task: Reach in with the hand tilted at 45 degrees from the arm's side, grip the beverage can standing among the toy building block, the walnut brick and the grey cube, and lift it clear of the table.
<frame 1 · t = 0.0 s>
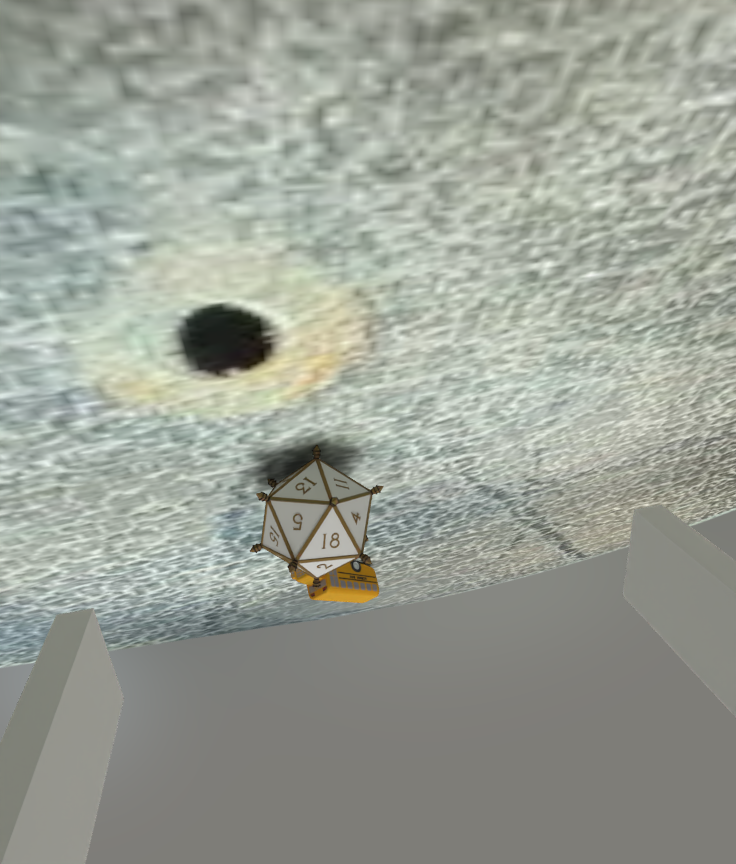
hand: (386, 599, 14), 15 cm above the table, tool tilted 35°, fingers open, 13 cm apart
game die: (307, 464, 40), on the table
toy bus: (332, 560, 61), on the table
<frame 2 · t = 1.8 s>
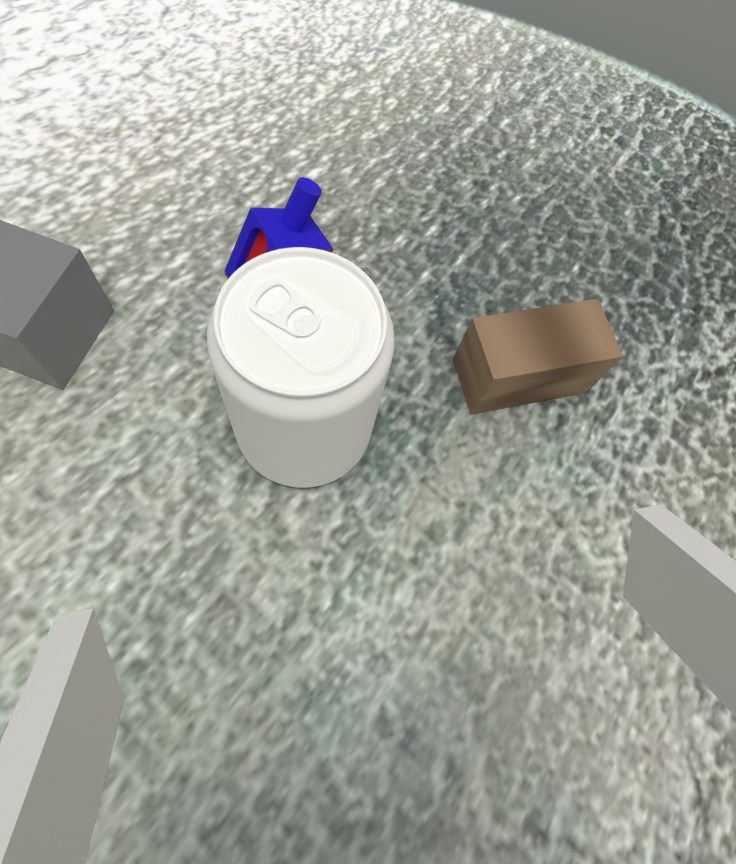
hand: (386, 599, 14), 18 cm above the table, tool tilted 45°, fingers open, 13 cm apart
toy building block: (280, 278, 39), on the table
beverage can: (304, 427, 35), on the table
walnut brick: (518, 377, 37), on the table
grey cube: (45, 333, 35), on the table
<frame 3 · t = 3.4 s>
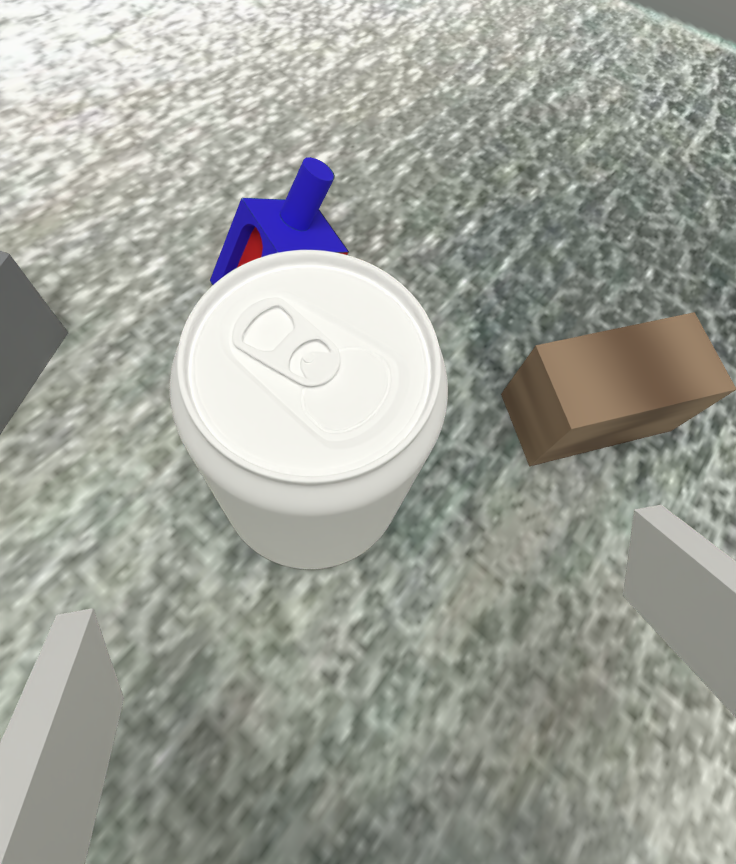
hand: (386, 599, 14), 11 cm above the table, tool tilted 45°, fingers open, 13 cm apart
toy building block: (280, 288, 31), on the table
beverage can: (312, 484, 27), on the table
walnut brick: (585, 413, 29), on the table
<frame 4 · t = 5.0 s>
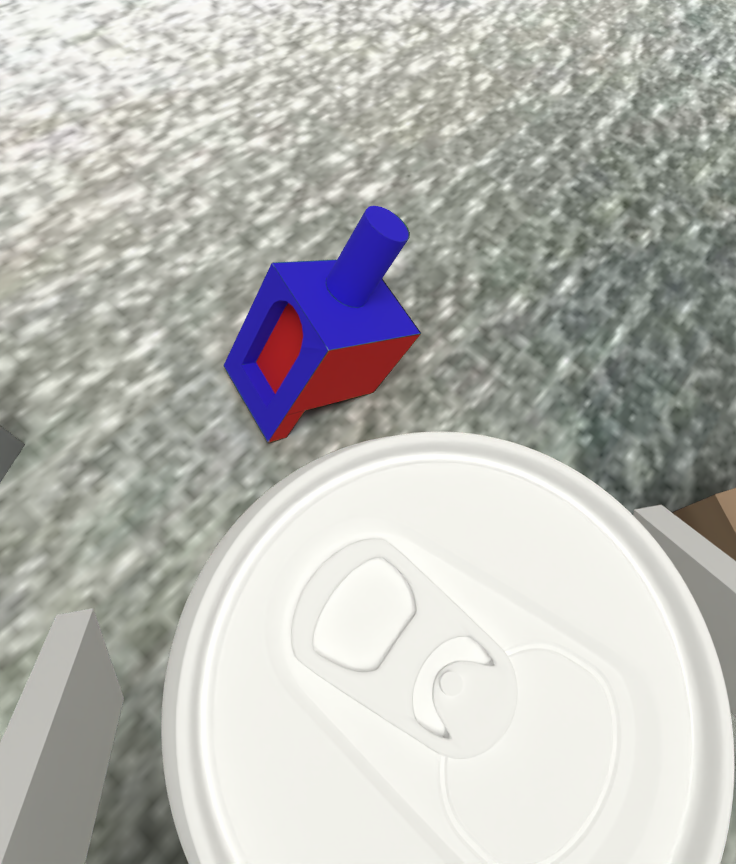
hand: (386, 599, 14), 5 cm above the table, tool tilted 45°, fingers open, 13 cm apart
toy building block: (319, 374, 22), on the table
beverage can: (372, 673, 19), on the table
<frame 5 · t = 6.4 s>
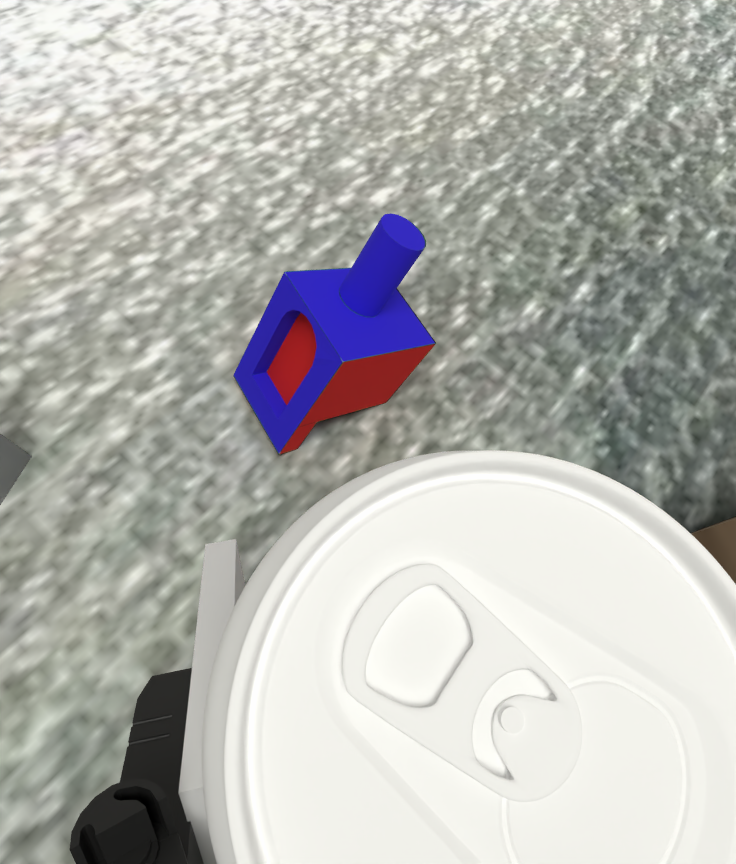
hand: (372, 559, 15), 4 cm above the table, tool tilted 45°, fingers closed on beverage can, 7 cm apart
toy building block: (331, 383, 22), on the table
beverage can: (393, 688, 18), on the table, touching gripper
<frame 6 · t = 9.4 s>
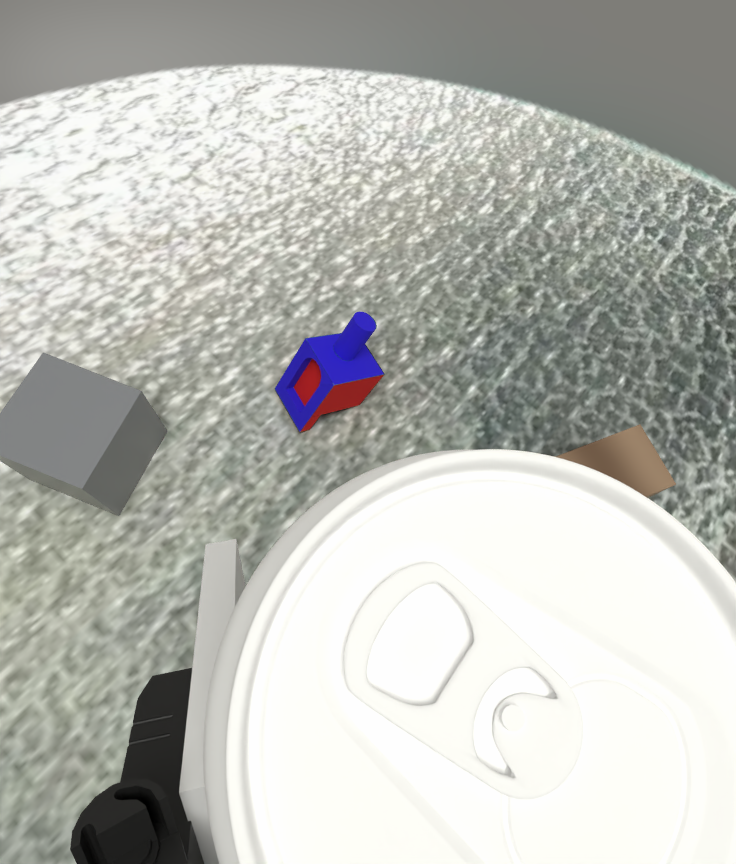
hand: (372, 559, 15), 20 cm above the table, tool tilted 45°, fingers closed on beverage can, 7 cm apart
toy building block: (328, 393, 39), on the table
beverage can: (394, 687, 18), point 15 cm above the table, touching gripper
walnut brick: (565, 498, 38), on the table
grey cube: (100, 455, 36), on the table
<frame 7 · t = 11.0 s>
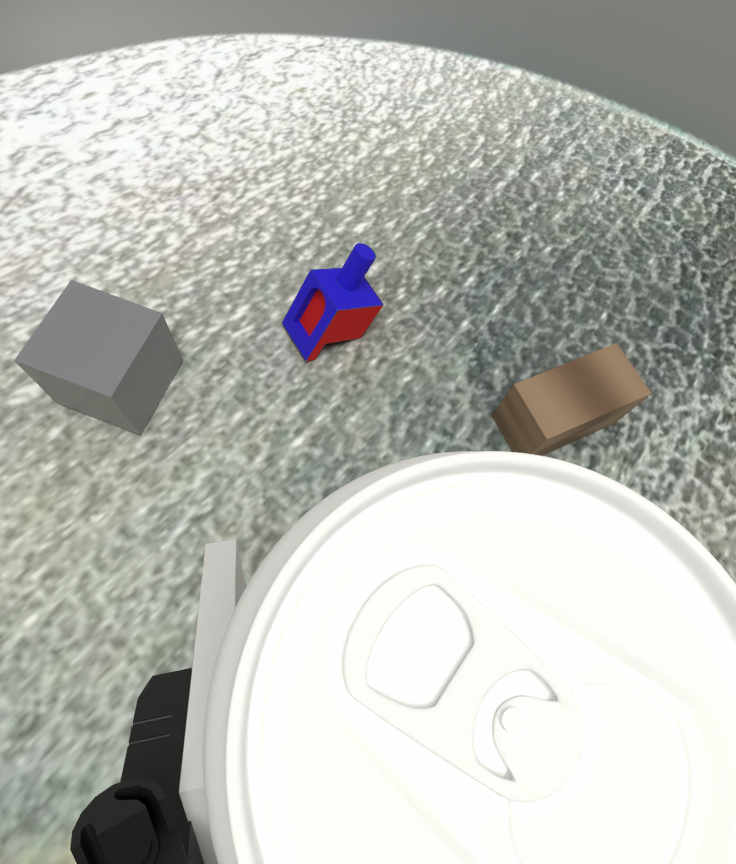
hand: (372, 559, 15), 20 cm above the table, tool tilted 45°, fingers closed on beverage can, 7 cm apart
toy building block: (332, 328, 42), on the table
beverage can: (394, 688, 18), point 16 cm above the table, touching gripper
walnut brick: (552, 420, 41), on the table
grey cube: (122, 382, 39), on the table
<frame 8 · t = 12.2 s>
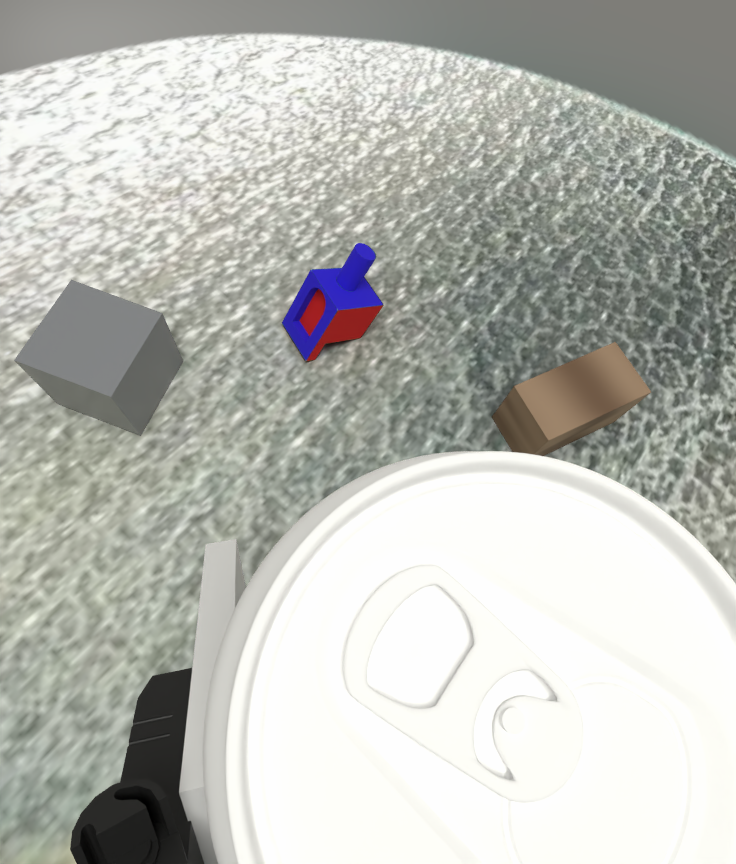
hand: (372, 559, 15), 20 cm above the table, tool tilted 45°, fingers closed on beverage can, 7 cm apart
toy building block: (332, 328, 42), on the table
beverage can: (394, 688, 18), point 16 cm above the table, touching gripper
walnut brick: (552, 420, 41), on the table
grey cube: (122, 382, 39), on the table
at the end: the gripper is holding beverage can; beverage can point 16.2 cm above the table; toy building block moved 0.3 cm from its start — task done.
